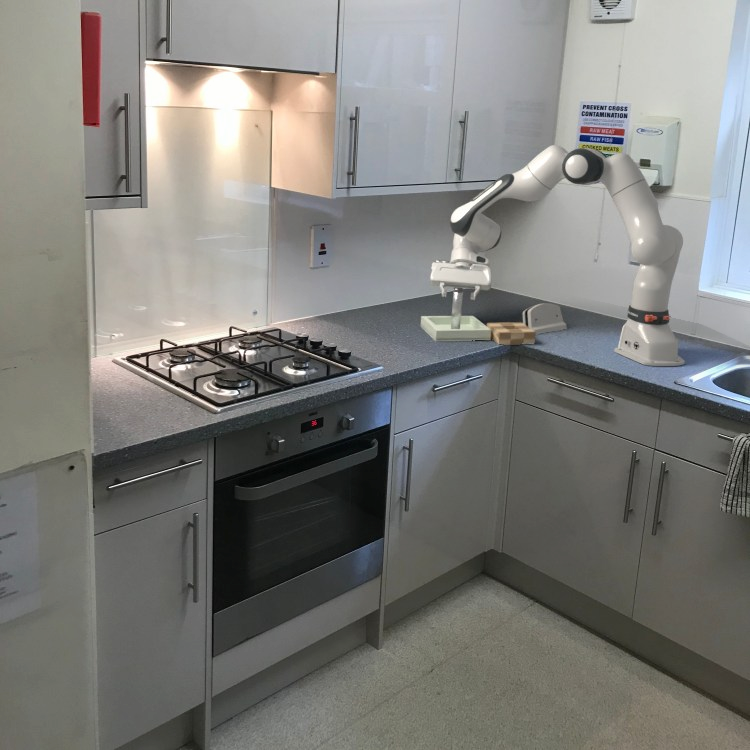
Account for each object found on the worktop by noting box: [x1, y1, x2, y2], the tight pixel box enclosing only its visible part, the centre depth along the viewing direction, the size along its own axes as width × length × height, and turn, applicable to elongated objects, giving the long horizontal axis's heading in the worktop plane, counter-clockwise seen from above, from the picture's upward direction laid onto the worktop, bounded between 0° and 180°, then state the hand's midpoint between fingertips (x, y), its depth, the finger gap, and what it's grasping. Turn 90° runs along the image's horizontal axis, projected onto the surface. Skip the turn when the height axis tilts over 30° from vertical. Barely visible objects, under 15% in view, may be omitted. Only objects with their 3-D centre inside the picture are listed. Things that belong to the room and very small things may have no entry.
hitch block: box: [486, 321, 537, 346], centre depth 286 cm, size 12×12×4 cm
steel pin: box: [451, 287, 464, 329], centre depth 288 cm, size 3×3×14 cm
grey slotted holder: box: [522, 302, 568, 334], centre depth 300 cm, size 17×5×10 cm, turn 128°
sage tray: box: [420, 315, 491, 342], centre depth 290 cm, size 18×18×4 cm
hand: (458, 297), depth 293 cm, fingers open, 8 cm apart
